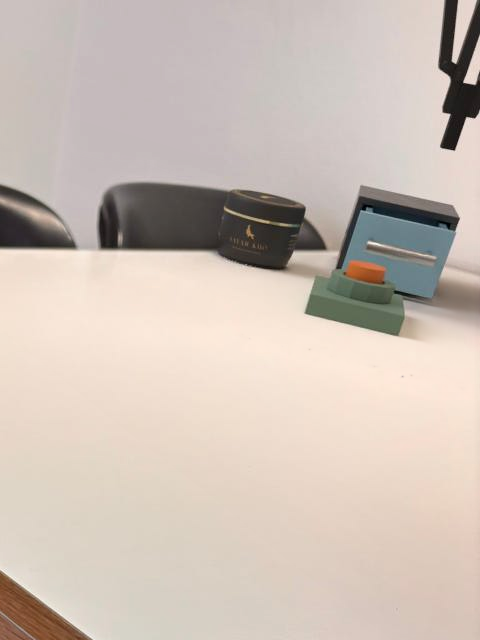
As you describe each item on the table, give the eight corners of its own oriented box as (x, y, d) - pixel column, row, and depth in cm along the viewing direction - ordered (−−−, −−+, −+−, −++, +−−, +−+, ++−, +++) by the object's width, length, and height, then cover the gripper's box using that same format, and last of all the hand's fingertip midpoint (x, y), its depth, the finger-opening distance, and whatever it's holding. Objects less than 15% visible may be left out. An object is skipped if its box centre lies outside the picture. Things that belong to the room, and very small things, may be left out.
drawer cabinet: (431, 295, 138) (460, 218, 133) (334, 272, 140) (359, 195, 135) (426, 277, 150) (453, 205, 145) (337, 256, 152) (360, 184, 147)
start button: (381, 289, 115) (386, 272, 114) (344, 280, 116) (349, 263, 115) (380, 282, 118) (386, 266, 118) (345, 274, 119) (350, 258, 118)
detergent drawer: (434, 308, 126) (460, 239, 122) (337, 285, 128) (360, 217, 124) (427, 280, 142) (449, 219, 138) (342, 260, 144) (362, 199, 140)
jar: (204, 255, 134) (221, 191, 131) (221, 246, 143) (237, 185, 139) (282, 275, 132) (301, 210, 128) (294, 264, 140) (312, 203, 136)
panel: (397, 336, 113) (411, 298, 111) (304, 314, 115) (316, 276, 113) (395, 314, 123) (408, 279, 121) (310, 294, 125) (321, 259, 123)
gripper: (470, -122, 105) (389, 139, 117) (609, -101, 103) (511, 163, 115) (463, -112, 111) (387, 135, 123) (594, -92, 109) (503, 157, 121)
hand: (447, 148), depth 119 cm, fingers closed
